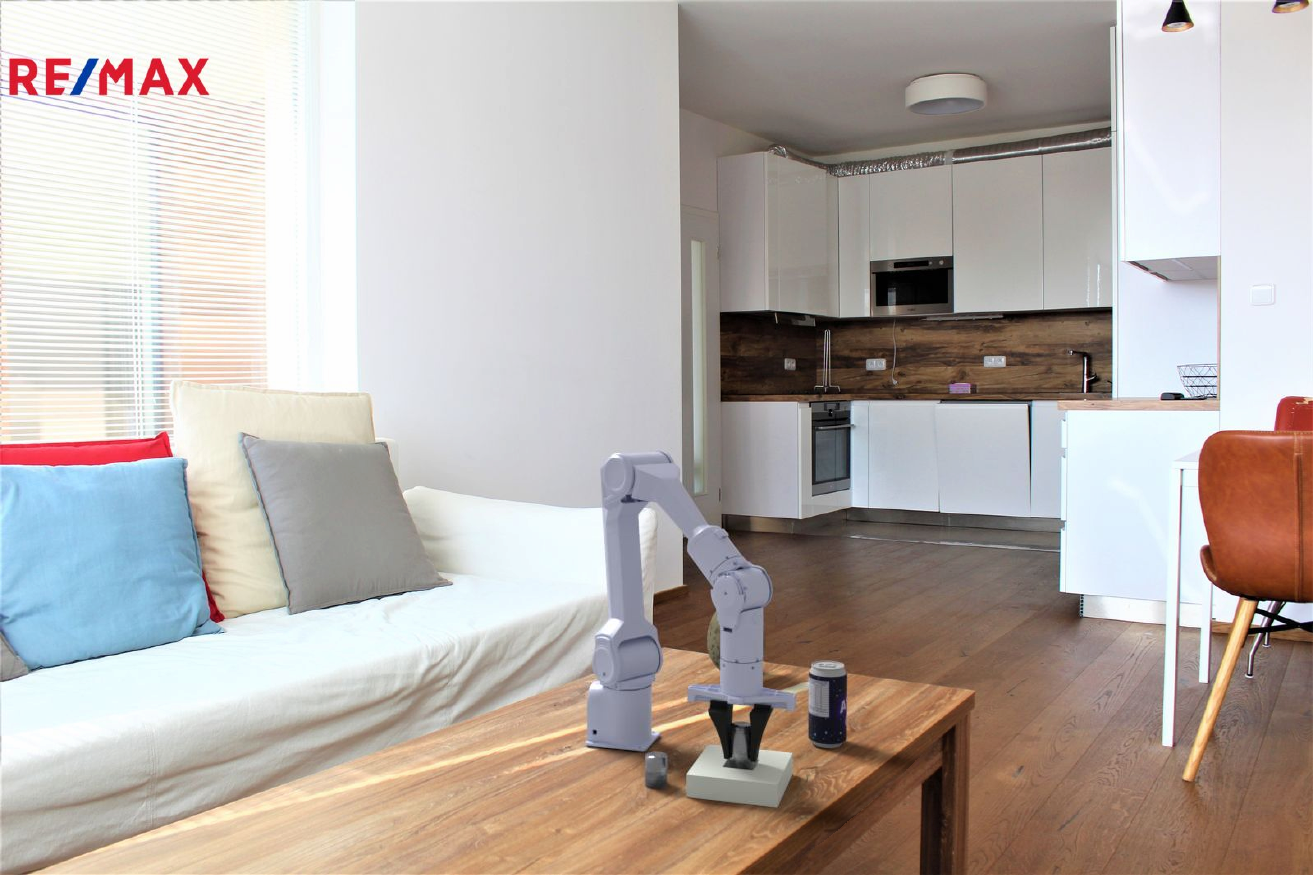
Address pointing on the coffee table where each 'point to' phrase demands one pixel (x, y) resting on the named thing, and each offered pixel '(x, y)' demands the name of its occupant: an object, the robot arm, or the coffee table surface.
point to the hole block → (740, 778)
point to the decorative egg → (718, 641)
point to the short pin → (656, 770)
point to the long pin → (740, 745)
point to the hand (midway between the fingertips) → (741, 758)
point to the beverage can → (827, 704)
